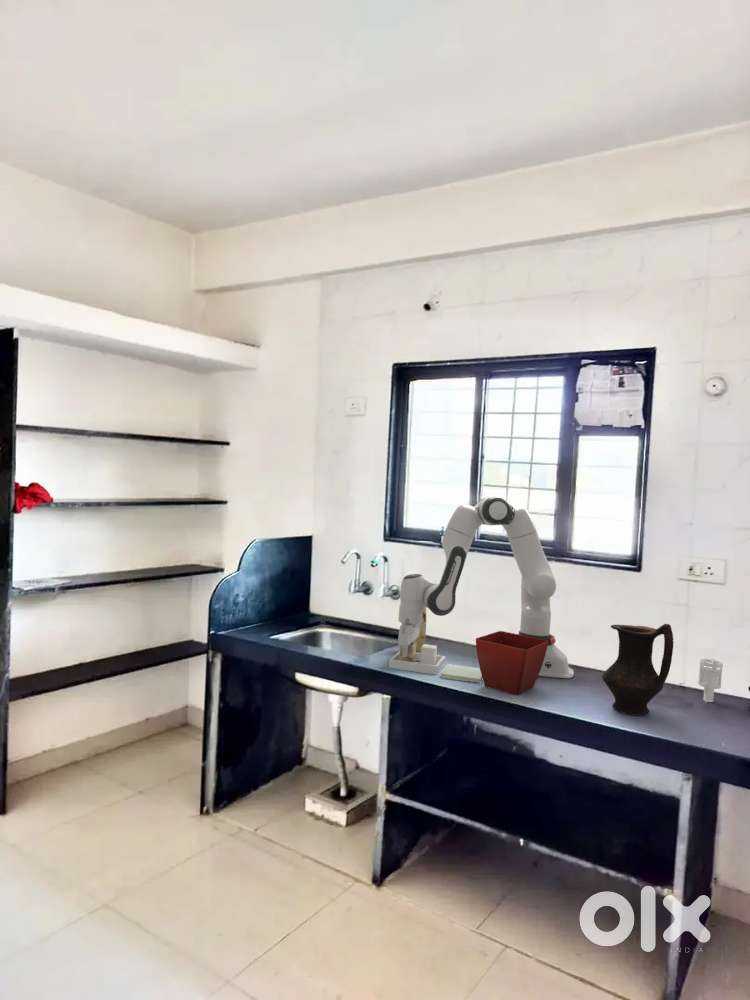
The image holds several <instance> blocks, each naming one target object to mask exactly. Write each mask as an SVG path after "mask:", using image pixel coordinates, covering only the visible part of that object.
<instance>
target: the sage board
mask: <svg viewBox="0 0 750 1000" xmlns="http://www.w3.org/2000/svg"><path fill="white" fill-rule="evenodd" d="M446 678H447V679H448V680H454V681H460V680H461V681H460V682H467V681H470V682H469V683H474V682H477V683H476V684H481V683H480V682H482V681H483V679H482V674H481V671H480V667H471V666H466V665H465V666H464V665H459V664H458V665H457V664H456V665H455V664H451V663H448V664H447V665H446V666H445V668H444V669H442V672H441V673H440V679H446ZM481 680H482V681H481Z"/></svg>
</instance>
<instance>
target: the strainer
mask: <svg viewBox="0 0 750 1000" xmlns="http://www.w3.org/2000/svg"><path fill="white" fill-rule="evenodd" d="M723 664H724V663H723V662H722V661H719V660H717V659H715V658H701V659H700V660H699V670H698V671H699V673H698V682H697V684H698V685H699V686H701V687H704V688H703V700H704V701H705V702H704V701H703V700H702V701H703V702H704V703H707V702H713V703H714V697H715V696H714V695H715V690H718V689H721V688H722V676H723V675H722V674H723Z"/></svg>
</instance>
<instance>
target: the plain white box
mask: <svg viewBox="0 0 750 1000" xmlns="http://www.w3.org/2000/svg"><path fill="white" fill-rule="evenodd" d="M437 653H438V645H433V644H428V643H425V644H424V645H423V646H422V647H421V660H420V661H419V663H421V664H428V665H436V657H437V655H438V654H437Z"/></svg>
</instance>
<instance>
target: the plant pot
mask: <svg viewBox="0 0 750 1000" xmlns="http://www.w3.org/2000/svg"><path fill="white" fill-rule="evenodd" d="M518 634H519V633H512V632H507V631H505V630H504V631H503V630H497V631H495V632H491V633H488V634H486V635H482V636H479V637H476V638H475V646H476V655H477V660H478V665H479V668H480V671H481V674H482V678H483V679H482V681H483V684H484V686H485V688H488V687H489V688H488V689H492V690H495V691H499V690H500V692H503V693H508V694H511V695H515V696H519V695H521V694H523V693H525V692H528V691H529V690H531V689H533V688H534V687H535V685H536V682H537V679H538V678H539V676H538V675H539V673H540V670H541V667H542V664H543V661H544V658H545V654H546V650H547V646H548V641H546V640H542V639H537V638H533V637H528V636H523V635H518Z"/></svg>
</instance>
